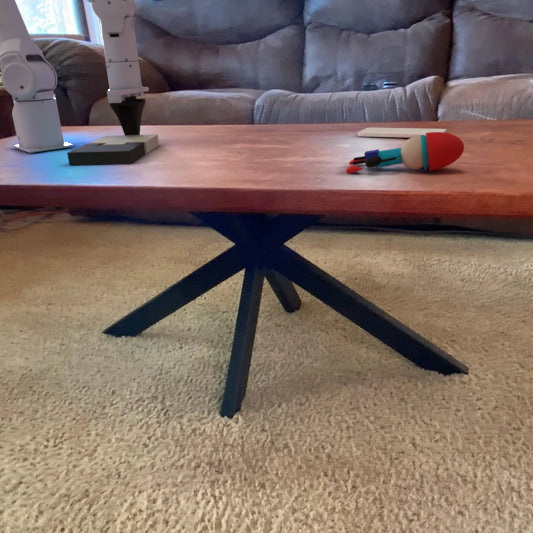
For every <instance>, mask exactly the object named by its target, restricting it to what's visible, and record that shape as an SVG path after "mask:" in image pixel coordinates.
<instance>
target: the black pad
mask: <svg viewBox="0 0 533 533" xmlns="http://www.w3.org/2000/svg"><path fill="white" fill-rule="evenodd" d="M66 155H67V160H68V164H69V166H91V165H96V166H97V165H98V166H99V165H130V164H132V163H134V162H136V161H137V160H139V159H141V158H142V157H143V156H145V155H146V153H145V147H144V142H139V143H128V144H127V145H101V144H89V143H86V144H83V145H81V146H79V147H77V148H75V149H72V150H69V151H68V152H67V153H66Z"/></svg>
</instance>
